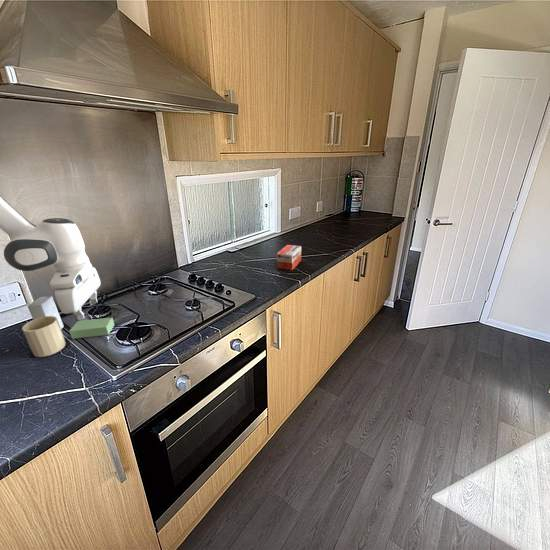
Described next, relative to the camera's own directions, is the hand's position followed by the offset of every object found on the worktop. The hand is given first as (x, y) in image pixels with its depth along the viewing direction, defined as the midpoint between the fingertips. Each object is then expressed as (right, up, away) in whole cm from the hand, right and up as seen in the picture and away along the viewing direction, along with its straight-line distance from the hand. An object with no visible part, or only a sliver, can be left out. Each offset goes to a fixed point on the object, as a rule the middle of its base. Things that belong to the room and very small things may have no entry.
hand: (88, 311), depth 94 cm
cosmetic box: (-14, -8, +3) cm, 16 cm away
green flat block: (0, -7, +3) cm, 8 cm away
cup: (-9, -11, -5) cm, 15 cm away
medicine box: (+67, +17, +55) cm, 88 cm away
